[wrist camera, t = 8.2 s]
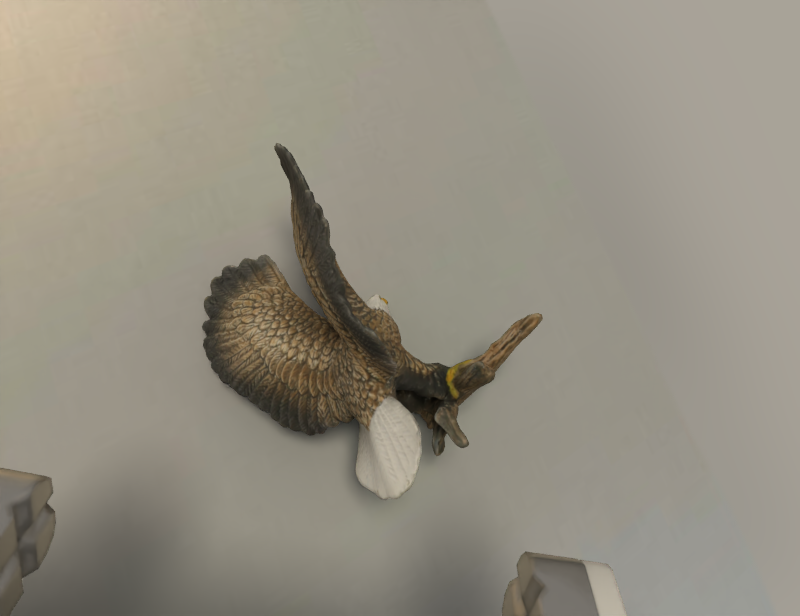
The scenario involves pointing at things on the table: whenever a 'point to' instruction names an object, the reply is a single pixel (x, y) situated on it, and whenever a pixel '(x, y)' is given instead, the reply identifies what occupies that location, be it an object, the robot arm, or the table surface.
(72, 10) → the table surface
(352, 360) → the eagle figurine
